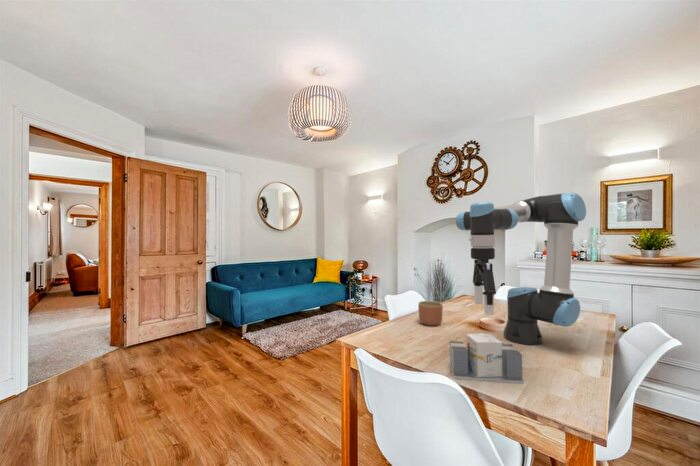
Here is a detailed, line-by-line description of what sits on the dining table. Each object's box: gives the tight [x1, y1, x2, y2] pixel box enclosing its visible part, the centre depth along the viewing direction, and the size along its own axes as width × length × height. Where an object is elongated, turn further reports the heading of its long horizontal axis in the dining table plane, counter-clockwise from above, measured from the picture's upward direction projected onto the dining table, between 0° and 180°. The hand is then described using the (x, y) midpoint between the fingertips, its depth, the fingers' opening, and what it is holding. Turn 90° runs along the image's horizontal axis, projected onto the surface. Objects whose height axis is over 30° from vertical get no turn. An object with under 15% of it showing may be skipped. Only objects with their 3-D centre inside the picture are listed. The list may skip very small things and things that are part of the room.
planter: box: [417, 300, 444, 327], centre depth 155 cm, size 12×12×11 cm
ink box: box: [466, 332, 503, 377], centre depth 100 cm, size 9×8×12 cm
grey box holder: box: [449, 340, 524, 385], centre depth 101 cm, size 21×11×9 cm, turn 79°
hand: (483, 308), depth 101 cm, fingers open, 13 cm apart
